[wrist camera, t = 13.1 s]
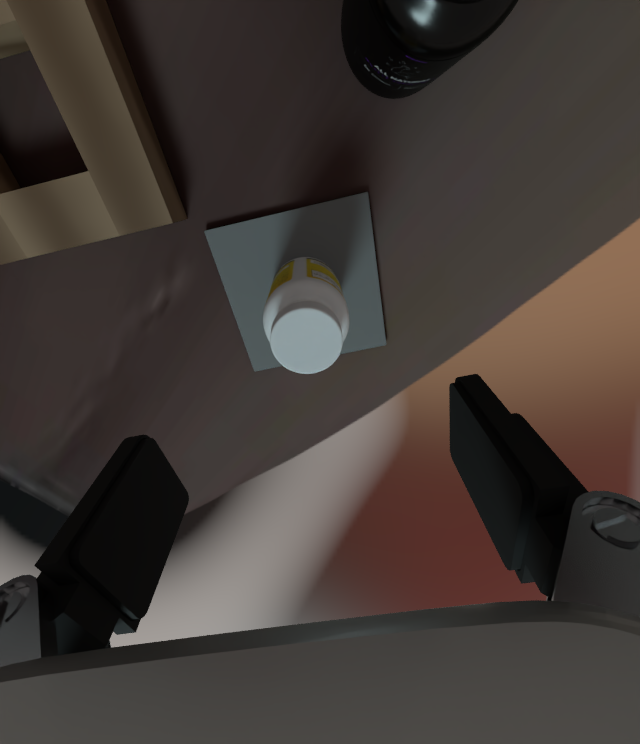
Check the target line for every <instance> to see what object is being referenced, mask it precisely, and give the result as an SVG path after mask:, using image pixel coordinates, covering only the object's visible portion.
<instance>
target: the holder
mask: <svg viewBox="0 0 640 744" xmlns="http://www.w3.org/2000/svg"><path fill="white" fill-rule="evenodd" d="M29 50H31V53H32V55H33V57H34V59H35V61H36V63H37V65H38V67H39V69H40V71H41V73H42V75H43V78H44V80H45V82H46V84H47V86H48V88H49V90H50V92H51V94H52V96H53V98H54V100H55V103H56V105H57V107H58V109H59V111H60V113H61V115H62V117H63V119H64V121H65V123H66V125H67V128H68V130H69V132H70V134H71V136H72V138H73V140H74V142H75V144H76V146H77V148H78V150H79V152H80V155H81V157H82V159H83V161H84V163H85V165H86V167H87V169H88V171H87V172H83V173H79V174H75V175H71V176H67V177H64V178H60V179H56V180H52V181H48V182H44V183H40V184H37V185H33V186H29V187H25V188H21V187H20V185H19V184H18V182H17V180H16V179H15V177H14V175H13V173H12V172H11V170H10V168H9V167H8V165H7V163H6V161H5V160H4V158H3V156H2V155H1V153H0V265H1V264H5V263H10V262H14V261H18V260H22V259H26V258H30V257H34V256H39V255H43V254H47V253H51V252H55V251H59V250H63V249H67V248H72V247H76V246H80V245H84V244H88V243H92V242H96V241H100V240H105V239H109V238H113V237H117V236H121V235H125V234H129V233H134V232H138V231H142V230H146V229H150V228H154V227H158V226H162V225H167V224H171V223H175V222H178V221H182V220H185V219H188V218H187V216H186V213H185V210H184V208H183V205H182V202H181V200H180V197H179V194H178V192H177V189H176V186H175V184H174V181H173V178H172V176H171V173H170V170H169V168H168V165H167V162H166V160H165V157H164V154H163V152H162V149H161V146H160V144H159V141H158V138H157V136H156V133H155V130H154V128H153V125H152V122H151V120H150V117H149V114H148V112H147V109H146V106H145V104H144V101H143V98H142V96H141V93H140V90H139V88H138V85H137V82H136V80H135V77H134V74H133V72H132V69H131V66H130V64H129V61H128V58H127V55H126V53H125V50H124V47H123V45H122V42H121V39H120V37H119V34H118V31H117V29H116V26H115V23H114V21H113V18H112V15H111V13H110V10H109V7H108V5H107V2H106V0H0V59H1V58H5V57H8V56H12V55H15V54H19V53H22V52H25V51H29Z"/></svg>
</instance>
